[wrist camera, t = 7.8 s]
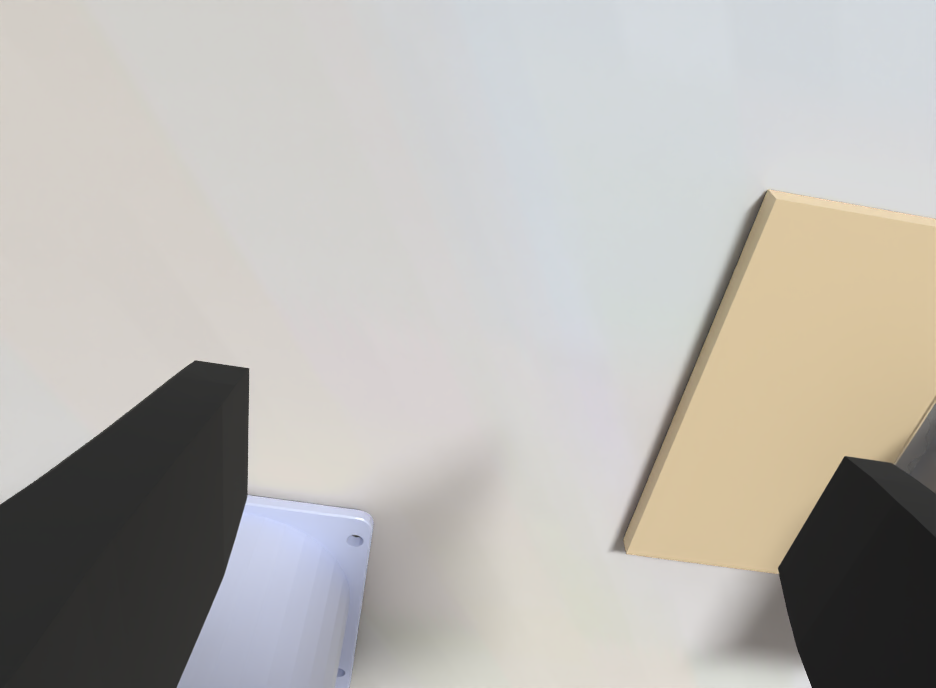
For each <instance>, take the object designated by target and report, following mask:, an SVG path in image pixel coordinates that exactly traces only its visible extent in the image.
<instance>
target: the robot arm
mask: <svg viewBox="0 0 936 688" xmlns="http://www.w3.org/2000/svg"><path fill="white" fill-rule="evenodd" d="M248 415H249V368H243V367H236V366H229V365H223V364H216V363H209V362H202V361H194V362H192V363H191V364H189V365H188V366H187V367H185V368H184V369H182V370H181V371H180V372H179V373H177V374H176V375H175V376H173V377H172V378H171V379H169V380H168V381H167V382H166V383H164V384H163V385H162V386H160V387H159V388H158V389H157V390H155V391H154V392H153V393H152V394H150V395H149V396H148V397H146V398H145V399H144V400H143V401H141V402H140V403H139V404H138V405H136V406H135V407H134V408H132V409H131V410H130V411H129V412H127V413H126V414H125V415H123V416H122V417H121V418H119V419H118V420H117V421H116V422H114V423H113V424H112V425H110V426H109V427H108V428H107V429H105V430H104V431H103V432H101V433H100V434H99V435H97V436H96V437H94V438H93V439H92V440H90V441H89V442H88V443H86V444H85V445H84V446H82V447H81V448H80V449H78V450H77V451H75V452H74V453H73V454H71V455H70V456H69V457H67V458H66V459H65V460H63V461H62V462H61V463H59V464H58V465H57V466H55V467H54V468H52V469H51V470H50V471H48V472H47V473H46V474H44V475H43V476H41V477H40V478H39V479H37V480H36V481H34V482H33V483H32V484H30V485H29V486H27V487H26V488H24V489H23V490H21V491H20V492H18V493H17V494H15V495H14V496H12V497H11V498H9V499H8V500H6V501H5V502H3V503H2V504H0V688H350V682H351V675H352V668H353V662H354V655H355V648H356V641H357V634H358V628H359V621H360V614H361V607H362V600H363V594H364V587H365V580H366V573H367V566H368V559H369V553H370V546H371V539H372V532H373V525H374V521H373V518H372V517H371V515H370V514H368V513H366V512H365V511H361V510H355V509H348V508H340V507H333V506H325V505H318V504H310V503H302V502H295V501H287V500H280V499H272V498H265V497H257V496H250V495H247V482H248ZM352 535H358V536H360V537H354V536H352ZM778 571H779V576H780V580H781V585H782V589H783V594H784V598H785V603H786V607H787V612H788V616H789V619H790V623H791V627H792V631H793V634H794V638H795V642H796V646H797V649H798V652H799V654H800V657H801V660H802V663H803V665H804V668H805V671H806V673H807V676H808V678H809V681H810V684H811V686H812V688H936V494H935V493H934V492H933V491H931V490H930V489H929V488H927V487H926V486H925V485H923V484H922V483H921V482H919V481H918V480H916V479H915V478H914V477H912V476H911V475H909V474H908V473H906V472H905V471H903V470H902V469H900V468H899V467H897V466H896V465H894V464H893V463H889V462H882V461H876V460H869V459H862V458H855V457H848V456H844V458H843V459H842V461H841V463H840V465H839V466H838V468H837V470H836V471H835V473H834V475H833V476H832V478H831V480H830V481H829V483H828V485H827V486H826V488H825V490H824V491H823V493H822V495H821V496H820V498H819V500H818V501H817V503H816V505H815V507H814V508H813V510H812V512H811V513H810V515H809V517H808V518H807V520H806V522H805V523H804V525H803V527H802V528H801V530H800V532H799V533H798V535H797V537H796V538H795V540H794V542H793V544H792V545H791V547H790V549H789V550H788V552H787V554H786V555H785V557H784V559H783V560H782V562H781V564H780V565H779V567H778Z"/></svg>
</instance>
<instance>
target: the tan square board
mask: <svg viewBox="0 0 936 688" xmlns="http://www.w3.org/2000/svg"><path fill="white" fill-rule="evenodd" d="M935 398H936V219H933V218H927V217H921V216H916V215H910V214H904V213H899V212H893V211H887V210H882V209H876V208H870V207H865V206H859V205H853V204H848V203H842V202H836V201H831V200H825V199H819V198H814V197H808V196H802V195H797V194H791V193H785V192H780V191H774V190H767V193H766V195H765V197H764V200H763V202H762V205H761V207H760V210H759V212H758V214H757V217H756V219H755V222H754V224H753V227H752V229H751V231H750V234H749V236H748V239H747V241H746V243H745V246H744V248H743V251H742V253H741V256H740V258H739V260H738V263H737V265H736V268H735V270H734V272H733V275H732V277H731V280H730V282H729V285H728V287H727V289H726V292H725V294H724V297H723V299H722V302H721V304H720V306H719V309H718V311H717V314H716V316H715V318H714V321H713V323H712V326H711V328H710V331H709V333H708V335H707V338H706V340H705V343H704V345H703V347H702V350H701V352H700V355H699V357H698V360H697V362H696V364H695V367H694V369H693V372H692V374H691V377H690V379H689V381H688V384H687V386H686V389H685V391H684V393H683V396H682V398H681V401H680V403H679V406H678V408H677V410H676V413H675V415H674V418H673V420H672V423H671V425H670V427H669V430H668V432H667V435H666V437H665V439H664V442H663V444H662V447H661V449H660V452H659V454H658V456H657V459H656V461H655V464H654V466H653V468H652V471H651V473H650V476H649V478H648V481H647V483H646V485H645V488H644V490H643V493H642V495H641V498H640V500H639V502H638V505H637V507H636V510H635V512H634V514H633V517H632V519H631V522H630V524H629V527H628V529H627V531H626V534H625V536H624V539H623V541H624V546H625V550H626V554H631V555H638V556H646V557H653V558H661V559H668V560H676V561H683V562H691V563H699V564H706V565H714V566H721V567H729V568H736V569H744V570H752V571H759V572H767V573H774V574H779V571H778V567H779V565H780V564H781V562H782V560H783V559H784V557H785V555H786V554H787V552H788V550H789V549H790V547H791V545H792V544H793V542H794V540H795V538H796V537H797V535H798V533H799V532H800V530H801V528H802V527H803V525H804V523H805V522H806V520H807V518H808V517H809V515H810V513H811V512H812V510H813V508H814V507H815V505H816V503H817V501H818V500H819V498H820V496H821V495H822V493H823V491H824V490H825V488H826V486H827V485H828V483H829V481H830V480H831V478H832V476H833V475H834V473H835V471H836V470H837V468H838V466H839V465H840V463H841V461H842V459H843V458H844V456H848V457H855V458H862V459H869V460H876V461H882V462H889V463H894V461H895V460H896V458H897V457H898V455H899V454H900V452H901V450H902V449H903V447H904V446H905V444H906V443H907V441H908V440H909V438H910V437H911V435H912V433H913V432H914V430H915V429H916V427H917V426H918V424H919V423H920V421H921V420H922V418H923V416H924V415H925V413H926V412H927V410H928V409H929V407H930V406H931V404H932V403H933V401H934V399H935Z"/></svg>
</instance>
